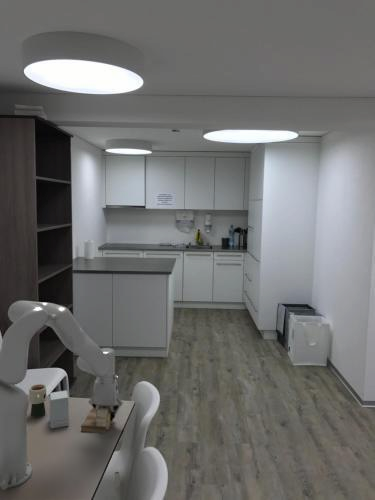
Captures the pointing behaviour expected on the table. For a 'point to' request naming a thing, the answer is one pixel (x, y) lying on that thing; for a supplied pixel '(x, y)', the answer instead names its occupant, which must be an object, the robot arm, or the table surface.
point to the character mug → (37, 399)
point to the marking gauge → (103, 416)
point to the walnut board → (92, 423)
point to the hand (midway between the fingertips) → (105, 418)
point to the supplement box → (58, 409)
